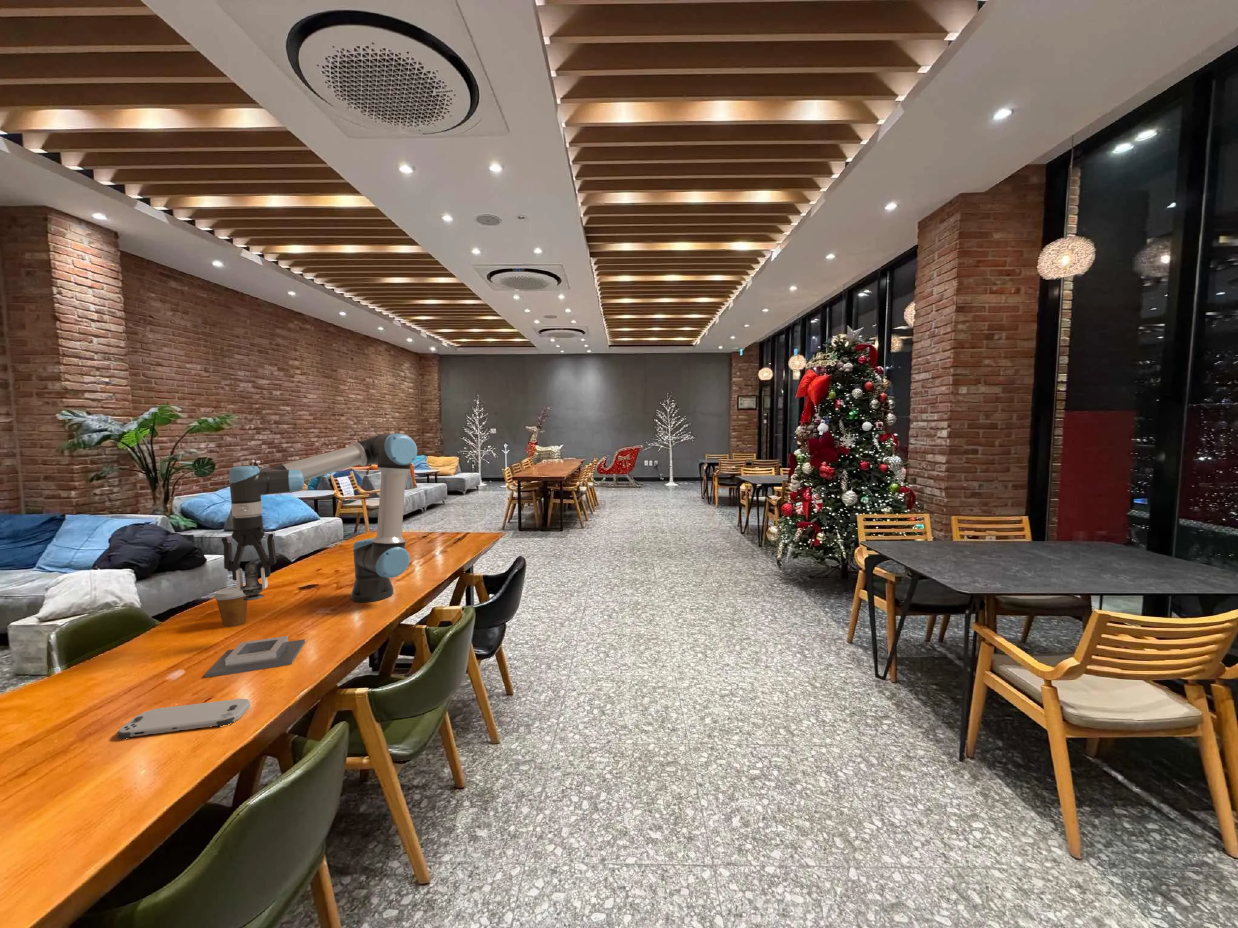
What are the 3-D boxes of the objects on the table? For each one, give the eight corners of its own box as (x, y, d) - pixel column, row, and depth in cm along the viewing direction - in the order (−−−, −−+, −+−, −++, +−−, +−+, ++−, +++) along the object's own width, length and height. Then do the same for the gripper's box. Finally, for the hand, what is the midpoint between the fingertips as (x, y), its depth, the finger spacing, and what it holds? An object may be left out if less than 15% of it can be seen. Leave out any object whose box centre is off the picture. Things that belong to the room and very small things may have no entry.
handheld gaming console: (255, 692, 122) (233, 715, 113) (256, 703, 123) (234, 727, 113) (143, 706, 118) (110, 730, 108) (144, 717, 118) (111, 743, 108)
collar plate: (305, 642, 157) (304, 631, 157) (291, 664, 142) (290, 652, 142) (227, 653, 151) (227, 641, 150) (205, 677, 136) (204, 665, 135)
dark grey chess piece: (269, 595, 160) (266, 558, 160) (250, 601, 155) (247, 563, 154) (256, 593, 162) (253, 557, 162) (237, 599, 157) (234, 561, 156)
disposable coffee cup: (258, 618, 179) (255, 585, 178) (235, 629, 169) (232, 594, 168) (233, 618, 180) (231, 585, 179) (209, 628, 170) (206, 594, 169)
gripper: (205, 520, 150) (211, 596, 152) (279, 515, 156) (284, 588, 158) (215, 516, 157) (221, 589, 159) (285, 511, 163) (290, 581, 165)
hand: (252, 588), depth 158 cm, fingers closed on dark grey chess piece, 6 cm apart
